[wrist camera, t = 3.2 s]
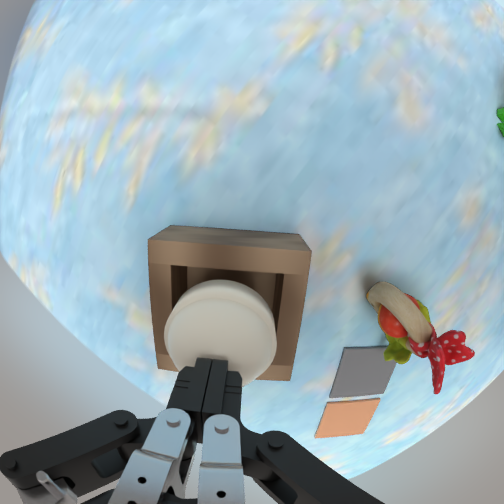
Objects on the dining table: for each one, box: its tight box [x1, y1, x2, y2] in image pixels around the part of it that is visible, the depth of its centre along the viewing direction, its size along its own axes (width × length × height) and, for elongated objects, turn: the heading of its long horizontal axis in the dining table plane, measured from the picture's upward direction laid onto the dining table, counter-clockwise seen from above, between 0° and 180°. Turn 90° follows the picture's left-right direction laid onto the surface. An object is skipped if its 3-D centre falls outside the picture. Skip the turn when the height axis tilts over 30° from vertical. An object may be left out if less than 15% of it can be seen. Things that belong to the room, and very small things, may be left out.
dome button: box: [164, 280, 277, 387], centre depth 16 cm, size 6×6×7 cm
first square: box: [329, 346, 397, 398], centre depth 25 cm, size 6×6×1 cm
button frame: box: [148, 225, 312, 381], centre depth 20 cm, size 10×10×5 cm
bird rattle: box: [366, 281, 475, 394], centre depth 18 cm, size 6×11×9 cm
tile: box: [315, 398, 381, 438], centre depth 27 cm, size 6×6×1 cm
